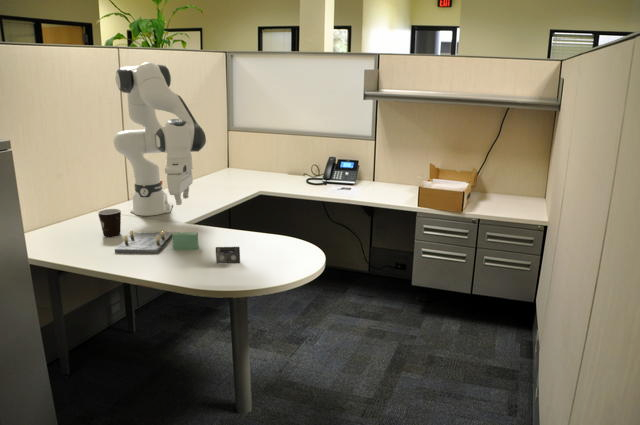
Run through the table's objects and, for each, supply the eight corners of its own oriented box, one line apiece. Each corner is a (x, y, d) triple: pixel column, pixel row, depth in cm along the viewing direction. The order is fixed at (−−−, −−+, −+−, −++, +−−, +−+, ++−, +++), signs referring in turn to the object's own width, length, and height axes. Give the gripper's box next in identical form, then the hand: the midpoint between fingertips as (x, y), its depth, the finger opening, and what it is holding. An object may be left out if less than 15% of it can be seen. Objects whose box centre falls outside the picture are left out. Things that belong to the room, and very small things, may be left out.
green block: (175, 247, 204) (174, 232, 203) (198, 247, 204) (197, 232, 203) (173, 249, 202) (172, 234, 200) (196, 249, 201) (195, 234, 200)
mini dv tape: (240, 262, 189) (239, 246, 187) (239, 263, 188) (239, 247, 186) (217, 262, 189) (216, 246, 187) (216, 263, 187) (215, 247, 186)
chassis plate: (134, 236, 217) (132, 225, 216) (173, 236, 217) (172, 225, 215) (114, 253, 198) (113, 241, 196) (157, 253, 197) (156, 241, 196)
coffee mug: (101, 233, 221) (98, 209, 218) (123, 230, 224) (120, 208, 221) (100, 241, 210) (97, 217, 208) (123, 239, 213) (121, 215, 210)
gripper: (179, 159, 204) (181, 194, 208) (163, 170, 184) (166, 208, 188) (195, 159, 204) (197, 194, 208) (181, 170, 184) (183, 208, 188)
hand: (182, 201), depth 198 cm, fingers open, 8 cm apart
